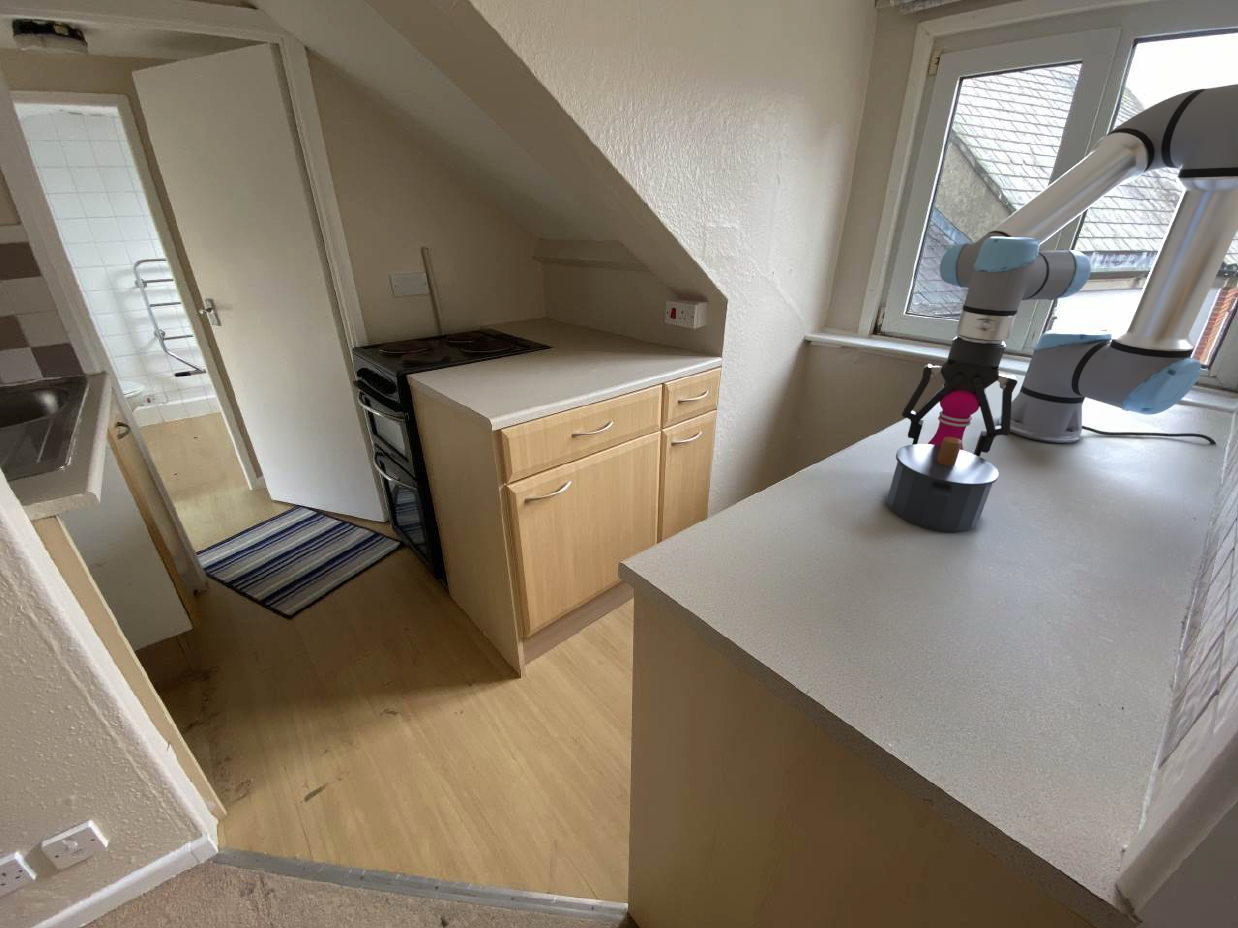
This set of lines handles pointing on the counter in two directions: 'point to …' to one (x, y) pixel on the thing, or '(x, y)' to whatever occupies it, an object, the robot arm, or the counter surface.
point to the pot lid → (947, 464)
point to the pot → (935, 502)
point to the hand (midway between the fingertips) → (941, 460)
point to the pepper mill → (955, 415)
